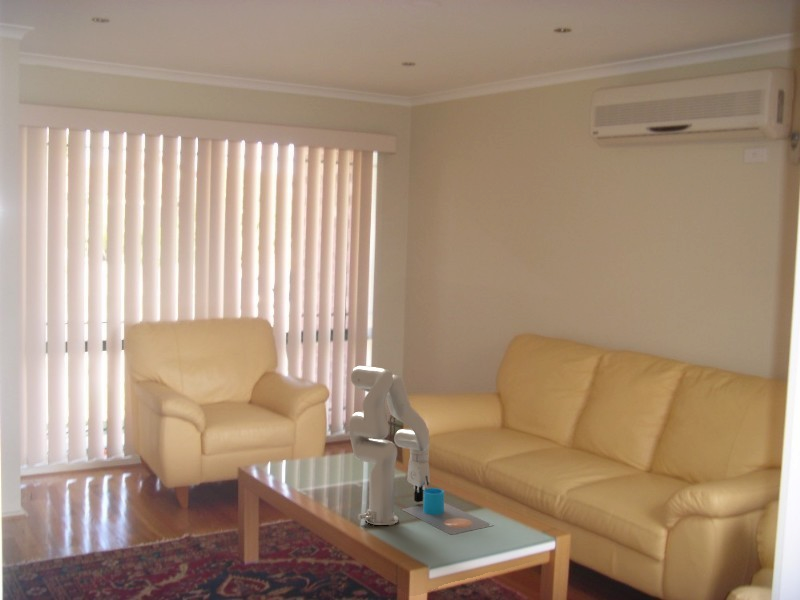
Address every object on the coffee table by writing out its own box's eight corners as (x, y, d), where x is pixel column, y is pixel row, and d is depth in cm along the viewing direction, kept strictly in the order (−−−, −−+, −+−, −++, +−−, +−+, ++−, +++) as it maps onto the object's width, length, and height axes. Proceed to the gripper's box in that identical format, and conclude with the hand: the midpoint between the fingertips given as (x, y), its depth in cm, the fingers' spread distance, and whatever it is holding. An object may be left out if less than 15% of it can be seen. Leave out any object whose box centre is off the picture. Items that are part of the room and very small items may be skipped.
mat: (451, 534, 314) (451, 534, 314) (400, 509, 343) (400, 509, 343) (493, 525, 325) (493, 525, 325) (441, 501, 354) (441, 501, 354)
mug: (447, 513, 338) (447, 492, 338) (428, 515, 335) (429, 495, 335) (433, 504, 349) (434, 484, 349) (415, 506, 346) (416, 486, 345)
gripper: (401, 454, 353) (400, 497, 354) (422, 462, 340) (421, 507, 342) (416, 451, 357) (415, 495, 358) (437, 459, 344) (436, 504, 346)
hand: (418, 501), depth 350 cm, fingers closed
